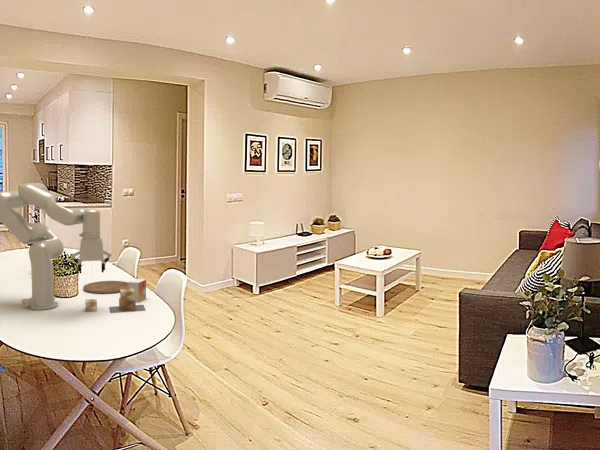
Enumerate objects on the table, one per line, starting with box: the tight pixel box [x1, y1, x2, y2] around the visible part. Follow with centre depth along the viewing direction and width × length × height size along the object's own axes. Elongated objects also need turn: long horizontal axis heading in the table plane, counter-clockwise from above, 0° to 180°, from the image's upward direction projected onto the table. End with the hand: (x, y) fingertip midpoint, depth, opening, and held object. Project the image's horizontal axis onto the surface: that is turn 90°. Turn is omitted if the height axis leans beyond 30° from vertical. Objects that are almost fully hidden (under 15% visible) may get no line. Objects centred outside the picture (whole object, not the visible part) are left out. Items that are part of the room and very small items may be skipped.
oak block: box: [119, 289, 134, 302], centre depth 251 cm, size 6×6×4 cm
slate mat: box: [108, 304, 146, 314], centre depth 252 cm, size 16×11×1 cm
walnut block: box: [118, 297, 137, 311], centre depth 252 cm, size 7×7×4 cm
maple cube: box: [84, 298, 98, 313], centre depth 247 cm, size 5×5×5 cm
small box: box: [128, 278, 147, 303], centre depth 267 cm, size 8×6×10 cm
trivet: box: [82, 280, 129, 295], centre depth 291 cm, size 25×25×2 cm
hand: (91, 272), depth 246 cm, fingers open, 9 cm apart
